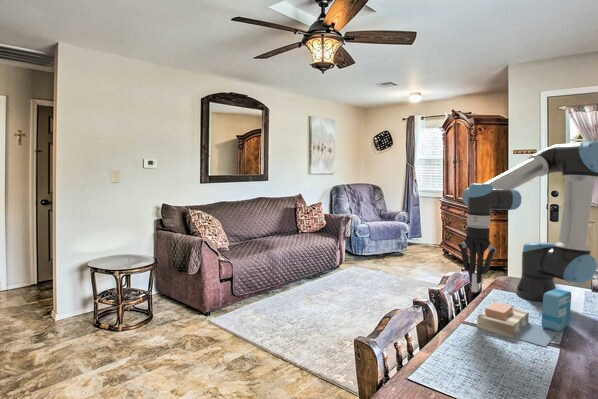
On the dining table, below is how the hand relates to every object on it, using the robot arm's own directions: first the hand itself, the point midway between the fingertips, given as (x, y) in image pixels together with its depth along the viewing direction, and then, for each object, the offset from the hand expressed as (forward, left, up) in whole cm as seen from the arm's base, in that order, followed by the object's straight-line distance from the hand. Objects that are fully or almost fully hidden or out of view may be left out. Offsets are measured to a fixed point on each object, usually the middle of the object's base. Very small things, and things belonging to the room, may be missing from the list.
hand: (474, 291), depth 135 cm
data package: (-12, +23, -10) cm, 27 cm away
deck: (0, +10, -10) cm, 14 cm away
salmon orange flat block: (0, +8, -6) cm, 10 cm away
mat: (0, +20, -10) cm, 22 cm away
